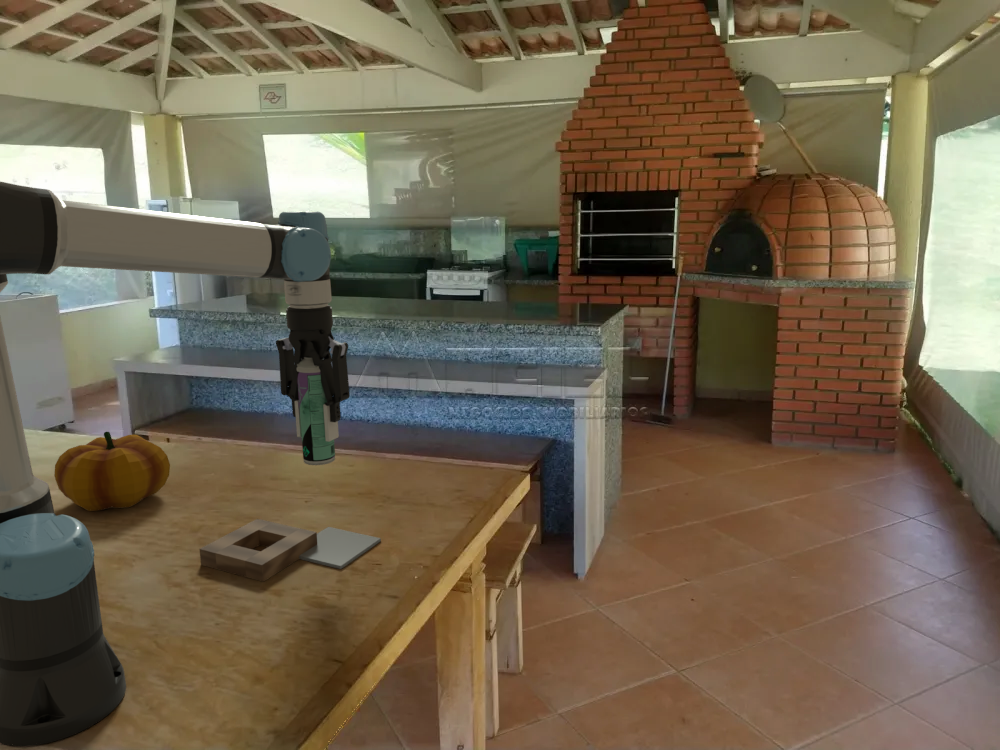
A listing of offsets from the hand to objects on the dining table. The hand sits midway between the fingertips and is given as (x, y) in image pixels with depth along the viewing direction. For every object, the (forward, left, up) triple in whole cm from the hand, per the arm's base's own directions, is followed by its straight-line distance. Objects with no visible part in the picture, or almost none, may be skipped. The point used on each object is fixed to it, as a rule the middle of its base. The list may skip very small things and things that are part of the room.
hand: (317, 436), depth 131 cm
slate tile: (+1, -1, -21) cm, 21 cm away
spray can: (0, 0, -5) cm, 5 cm away
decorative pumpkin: (0, +55, -22) cm, 59 cm away
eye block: (-7, +9, -21) cm, 24 cm away
